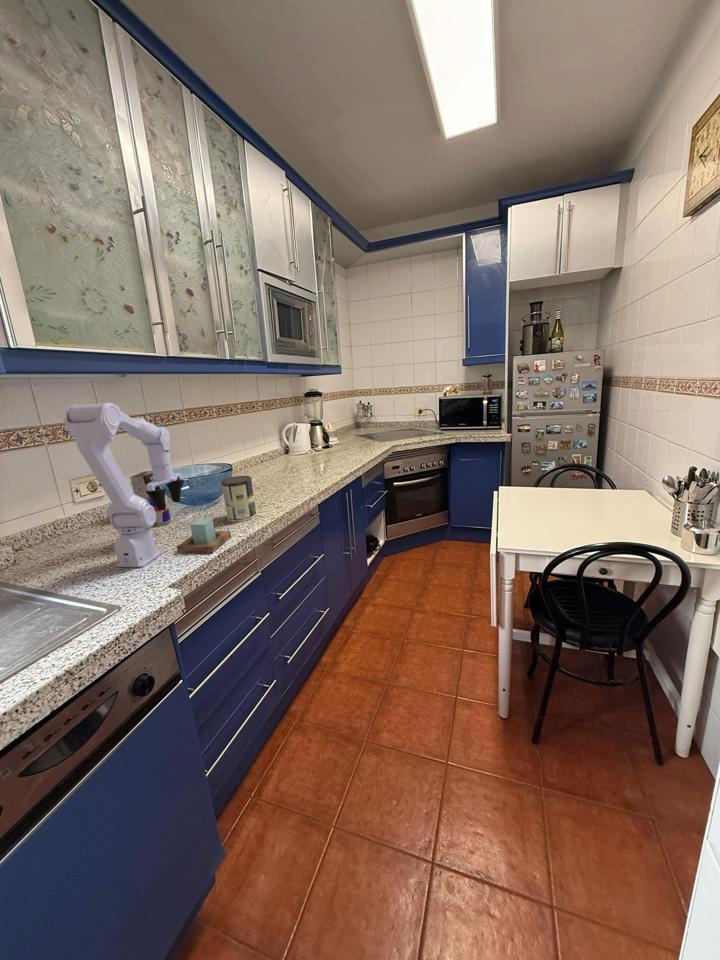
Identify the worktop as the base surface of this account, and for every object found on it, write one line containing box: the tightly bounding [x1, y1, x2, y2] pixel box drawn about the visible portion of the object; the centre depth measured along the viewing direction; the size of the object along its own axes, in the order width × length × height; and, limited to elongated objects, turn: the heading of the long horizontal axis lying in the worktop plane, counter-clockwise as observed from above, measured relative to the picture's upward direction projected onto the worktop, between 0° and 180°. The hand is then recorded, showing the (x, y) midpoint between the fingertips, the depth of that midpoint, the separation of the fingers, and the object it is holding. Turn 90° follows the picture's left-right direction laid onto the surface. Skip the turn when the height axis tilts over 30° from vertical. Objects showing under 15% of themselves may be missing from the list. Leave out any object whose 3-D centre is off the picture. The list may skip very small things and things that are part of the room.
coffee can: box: [220, 475, 258, 523], centre depth 132 cm, size 10×10×14 cm
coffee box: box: [129, 470, 163, 504], centre depth 141 cm, size 9×6×16 cm
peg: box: [190, 518, 216, 544], centre depth 111 cm, size 4×4×7 cm
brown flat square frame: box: [176, 530, 232, 554], centre depth 111 cm, size 11×11×2 cm
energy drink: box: [148, 492, 172, 527], centre depth 130 cm, size 5×5×12 cm
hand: (169, 505), depth 120 cm, fingers open, 7 cm apart
